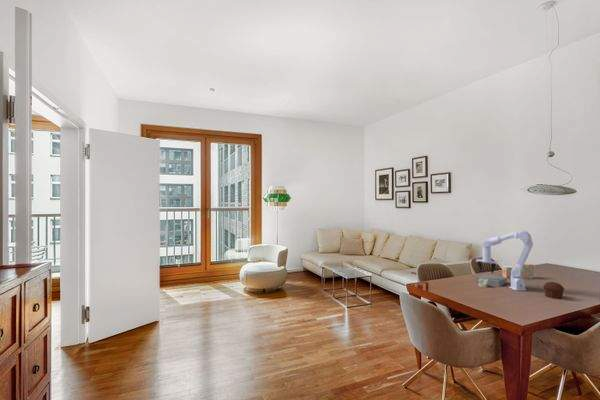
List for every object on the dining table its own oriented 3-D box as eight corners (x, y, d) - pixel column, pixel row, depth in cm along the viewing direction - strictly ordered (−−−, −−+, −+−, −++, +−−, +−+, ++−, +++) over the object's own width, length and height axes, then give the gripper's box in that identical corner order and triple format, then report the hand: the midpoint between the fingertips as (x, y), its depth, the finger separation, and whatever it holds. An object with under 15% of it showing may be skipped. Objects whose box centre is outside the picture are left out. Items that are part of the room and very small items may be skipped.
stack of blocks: (506, 278, 259) (506, 263, 259) (502, 276, 265) (502, 262, 265) (533, 278, 257) (533, 264, 257) (528, 276, 263) (528, 262, 263)
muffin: (566, 300, 201) (566, 285, 201) (545, 298, 206) (545, 283, 206) (561, 295, 211) (561, 281, 211) (541, 293, 217) (541, 279, 217)
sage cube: (488, 286, 236) (488, 279, 236) (485, 287, 233) (485, 280, 233) (481, 284, 240) (481, 278, 240) (478, 285, 237) (478, 279, 237)
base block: (506, 282, 244) (506, 277, 244) (499, 286, 234) (498, 281, 234) (484, 278, 257) (484, 274, 257) (476, 282, 247) (476, 277, 247)
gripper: (498, 255, 239) (498, 272, 239) (477, 253, 249) (477, 269, 249) (496, 256, 233) (496, 274, 233) (475, 254, 243) (475, 271, 244)
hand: (486, 272), depth 241 cm, fingers open, 7 cm apart
